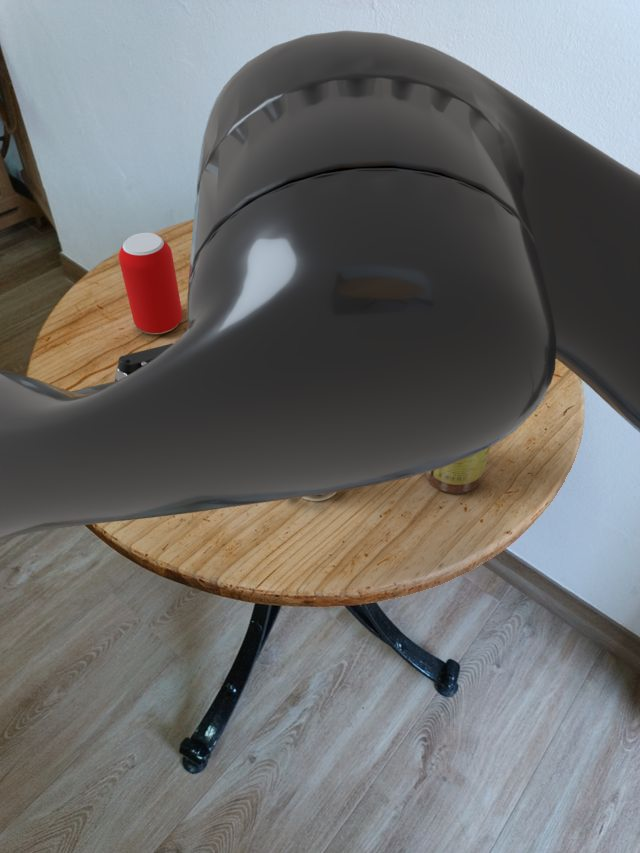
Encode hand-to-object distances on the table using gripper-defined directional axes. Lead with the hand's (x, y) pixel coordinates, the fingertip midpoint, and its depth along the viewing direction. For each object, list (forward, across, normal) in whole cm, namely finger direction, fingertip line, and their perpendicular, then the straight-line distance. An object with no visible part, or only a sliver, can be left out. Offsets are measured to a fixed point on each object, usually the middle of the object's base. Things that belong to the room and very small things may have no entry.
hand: (269, 393), depth 57 cm
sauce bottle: (+21, -10, +9) cm, 25 cm away
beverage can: (+15, +31, +16) cm, 38 cm away
